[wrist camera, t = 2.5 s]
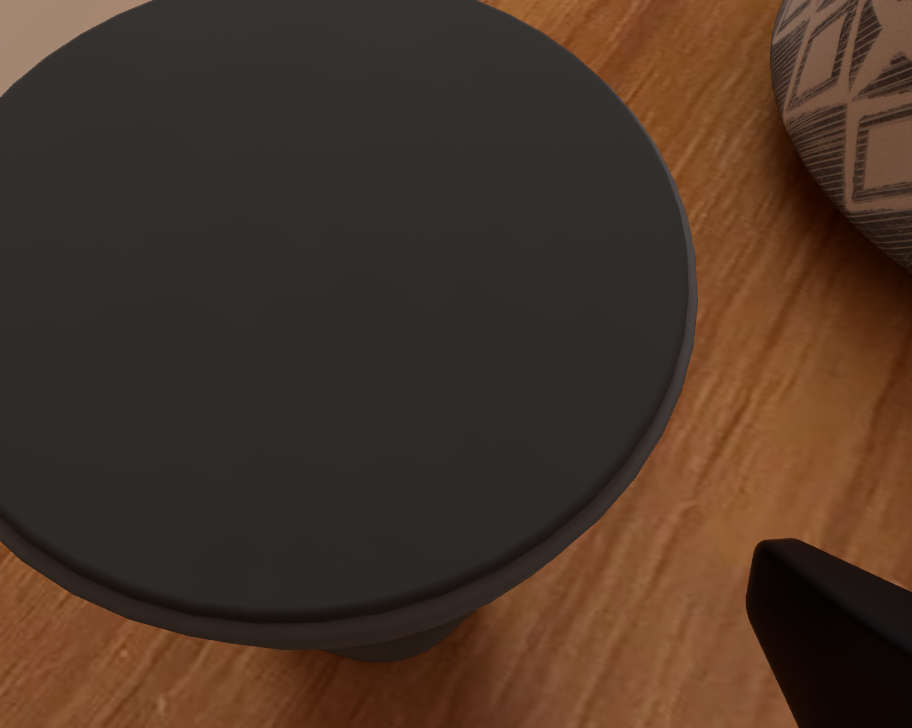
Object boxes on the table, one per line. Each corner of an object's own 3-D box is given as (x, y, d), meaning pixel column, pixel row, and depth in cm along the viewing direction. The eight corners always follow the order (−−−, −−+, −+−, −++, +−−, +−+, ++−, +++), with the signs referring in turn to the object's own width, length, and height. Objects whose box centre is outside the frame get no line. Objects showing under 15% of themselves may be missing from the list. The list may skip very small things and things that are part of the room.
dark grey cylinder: (498, 656, 16) (811, 599, 4) (274, 677, 15) (-251, 692, 3) (477, 446, 18) (627, -39, 6) (280, 458, 17) (-18, -45, 5)
